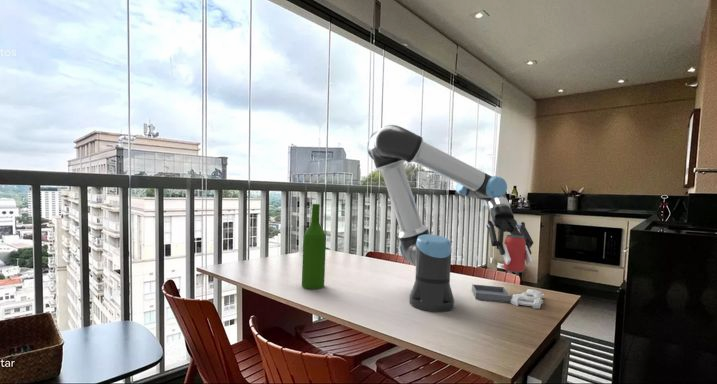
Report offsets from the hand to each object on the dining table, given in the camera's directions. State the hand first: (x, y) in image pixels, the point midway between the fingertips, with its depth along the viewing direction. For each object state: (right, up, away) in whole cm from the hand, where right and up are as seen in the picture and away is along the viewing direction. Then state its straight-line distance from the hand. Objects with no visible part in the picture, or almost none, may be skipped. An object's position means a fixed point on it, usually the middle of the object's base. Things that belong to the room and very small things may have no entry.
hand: (519, 262), depth 114 cm
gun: (+9, -17, +12) cm, 23 cm away
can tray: (-3, -16, +16) cm, 23 cm away
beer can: (0, -4, +4) cm, 5 cm away
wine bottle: (-72, -14, +21) cm, 76 cm away
